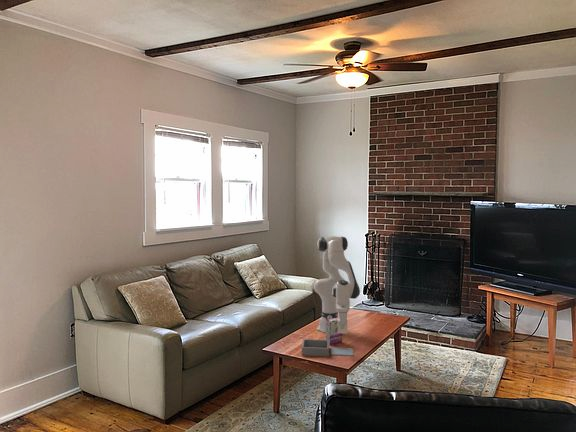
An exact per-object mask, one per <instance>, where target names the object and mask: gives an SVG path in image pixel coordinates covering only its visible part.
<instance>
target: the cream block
mask: <svg viewBox="0 0 576 432" xmlns="http://www.w3.org/2000/svg"><path fill="white" fill-rule="evenodd" d="M338 333H342V334H348V319H347V320H346V325H344V329H341V324H340V319H338Z"/></svg>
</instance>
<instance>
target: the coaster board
mask: <svg viewBox="0 0 576 432" xmlns="http://www.w3.org/2000/svg"><path fill="white" fill-rule="evenodd" d="M330 355H331V356H343V357H347V356H348V357H354V348H352V347H351V348H350V347H349V348H348V347H347V348H346V347H330Z"/></svg>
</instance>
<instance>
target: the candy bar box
mask: <svg viewBox="0 0 576 432" xmlns="http://www.w3.org/2000/svg"><path fill="white" fill-rule="evenodd" d="M338 319H339V316H338V317H337V318H333V319H329V320H326V333H325V340H329V346H333V345H337V344H341V343H343V333H338Z"/></svg>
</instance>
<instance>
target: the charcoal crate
mask: <svg viewBox="0 0 576 432" xmlns="http://www.w3.org/2000/svg"><path fill="white" fill-rule="evenodd" d="M329 349H330V345H329V340H326V339H311V338H309V339H308V338H306V339H305V338H303V340H302V344H301V356H309V357H312V356H313V357H330V353H329V351H330V350H329Z"/></svg>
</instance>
